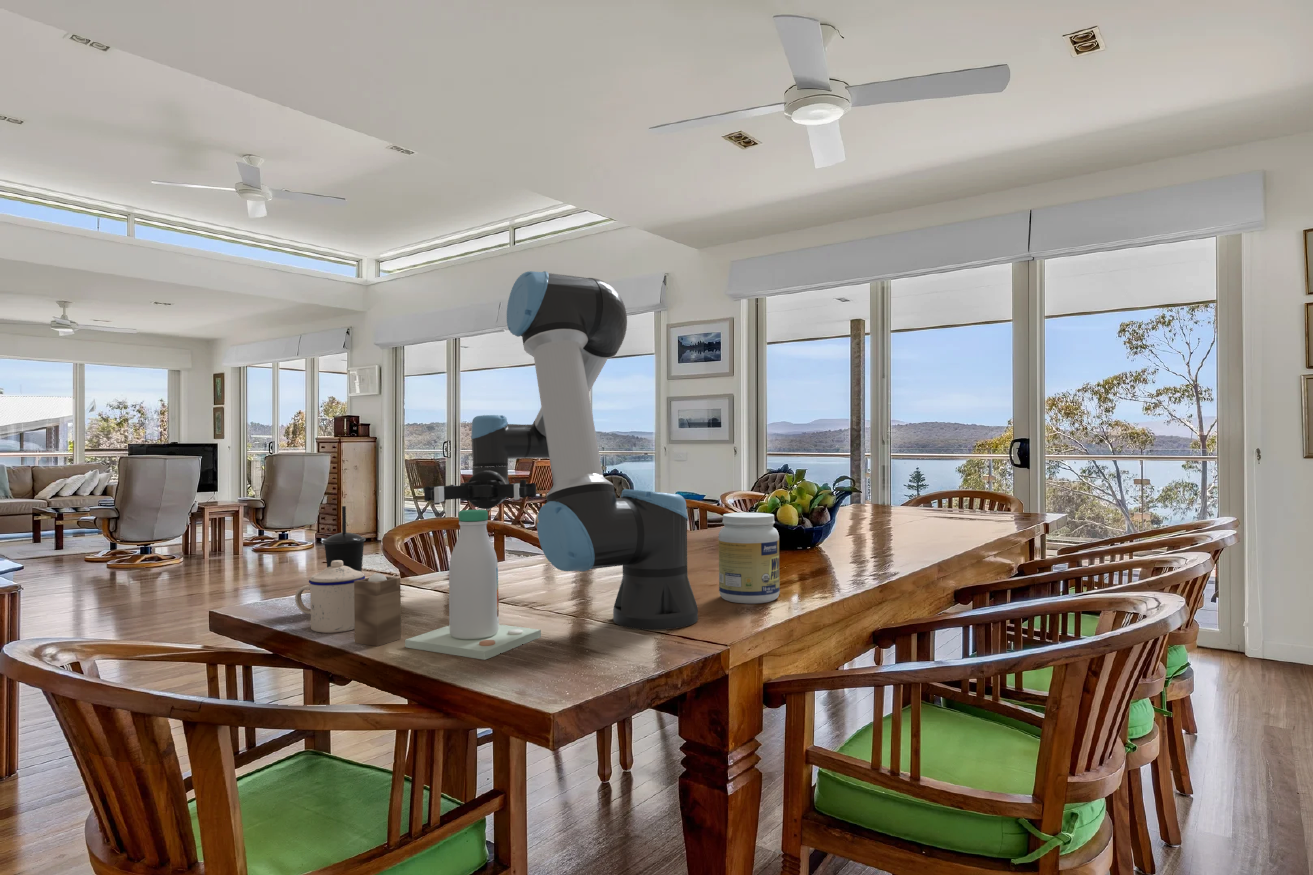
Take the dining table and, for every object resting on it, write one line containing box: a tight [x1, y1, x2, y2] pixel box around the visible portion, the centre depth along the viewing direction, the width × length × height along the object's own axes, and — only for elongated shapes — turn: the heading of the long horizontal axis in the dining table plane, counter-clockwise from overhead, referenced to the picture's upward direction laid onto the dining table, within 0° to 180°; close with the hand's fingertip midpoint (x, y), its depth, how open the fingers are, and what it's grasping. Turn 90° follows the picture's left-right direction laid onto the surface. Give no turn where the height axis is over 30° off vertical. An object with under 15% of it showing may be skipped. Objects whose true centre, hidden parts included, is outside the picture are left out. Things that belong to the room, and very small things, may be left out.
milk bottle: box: [448, 509, 500, 639], centre depth 121 cm, size 8×8×20 cm
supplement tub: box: [718, 512, 780, 604], centre depth 151 cm, size 12×12×17 cm
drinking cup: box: [322, 505, 366, 572], centre depth 146 cm, size 8×8×20 cm
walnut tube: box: [354, 575, 402, 647], centre depth 122 cm, size 5×5×10 cm
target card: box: [404, 623, 542, 661], centre depth 121 cm, size 16×14×2 cm
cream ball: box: [368, 572, 387, 582], centre depth 122 cm, size 3×3×3 cm
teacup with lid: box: [294, 560, 366, 634], centre depth 132 cm, size 12×9×12 cm
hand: (476, 493), depth 131 cm, fingers open, 13 cm apart
